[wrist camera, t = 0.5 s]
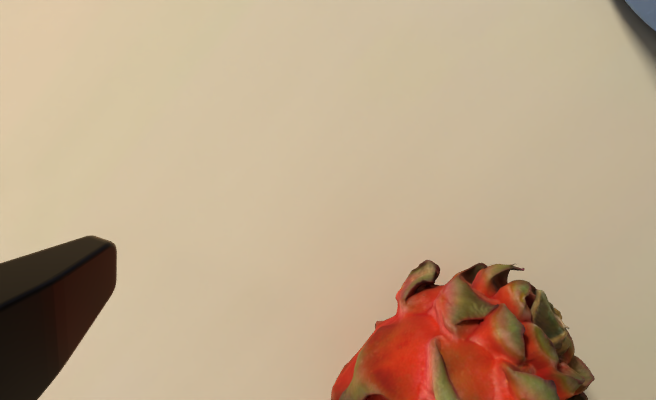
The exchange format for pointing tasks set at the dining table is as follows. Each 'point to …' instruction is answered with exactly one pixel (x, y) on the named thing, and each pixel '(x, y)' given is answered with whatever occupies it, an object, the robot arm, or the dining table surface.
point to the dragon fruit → (467, 343)
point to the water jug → (645, 10)
